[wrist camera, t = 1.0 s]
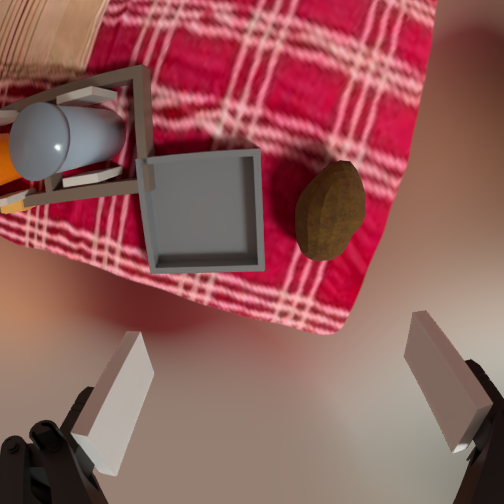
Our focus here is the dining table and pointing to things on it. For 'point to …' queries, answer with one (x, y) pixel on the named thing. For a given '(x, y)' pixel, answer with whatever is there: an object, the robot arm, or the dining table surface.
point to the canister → (63, 139)
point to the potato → (330, 211)
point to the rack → (89, 182)
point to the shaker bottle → (6, 161)
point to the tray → (204, 212)
